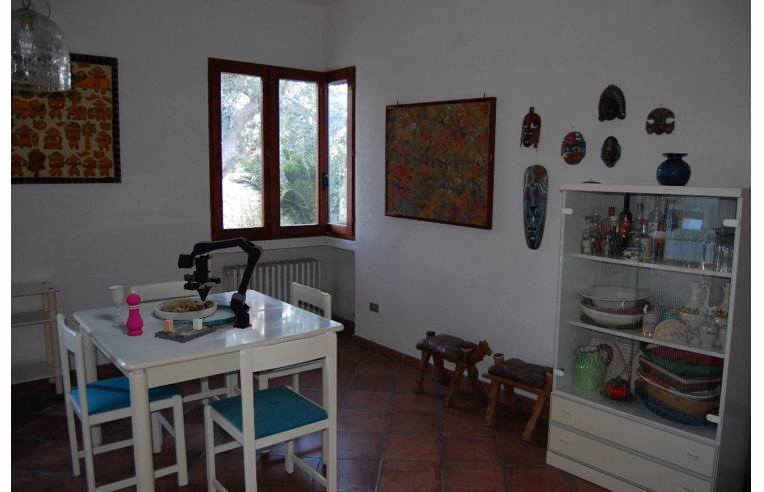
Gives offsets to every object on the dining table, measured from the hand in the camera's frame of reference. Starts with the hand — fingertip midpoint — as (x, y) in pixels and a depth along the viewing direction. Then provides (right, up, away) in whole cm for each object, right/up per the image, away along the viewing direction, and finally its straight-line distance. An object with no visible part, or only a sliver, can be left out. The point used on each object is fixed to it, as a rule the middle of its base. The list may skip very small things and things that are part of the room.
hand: (203, 301), depth 273 cm
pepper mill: (-27, -14, -11) cm, 32 cm away
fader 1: (-11, -11, -14) cm, 21 cm away
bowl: (-15, -9, +23) cm, 29 cm away
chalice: (-41, -11, +3) cm, 42 cm away
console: (-4, -14, -10) cm, 18 cm away
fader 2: (+1, -11, -11) cm, 16 cm away
